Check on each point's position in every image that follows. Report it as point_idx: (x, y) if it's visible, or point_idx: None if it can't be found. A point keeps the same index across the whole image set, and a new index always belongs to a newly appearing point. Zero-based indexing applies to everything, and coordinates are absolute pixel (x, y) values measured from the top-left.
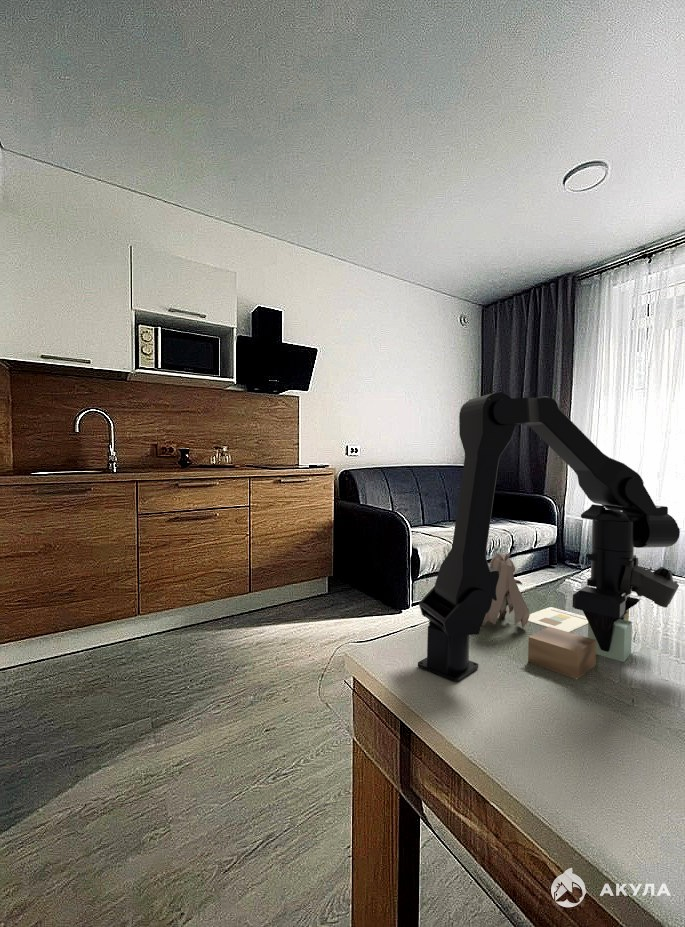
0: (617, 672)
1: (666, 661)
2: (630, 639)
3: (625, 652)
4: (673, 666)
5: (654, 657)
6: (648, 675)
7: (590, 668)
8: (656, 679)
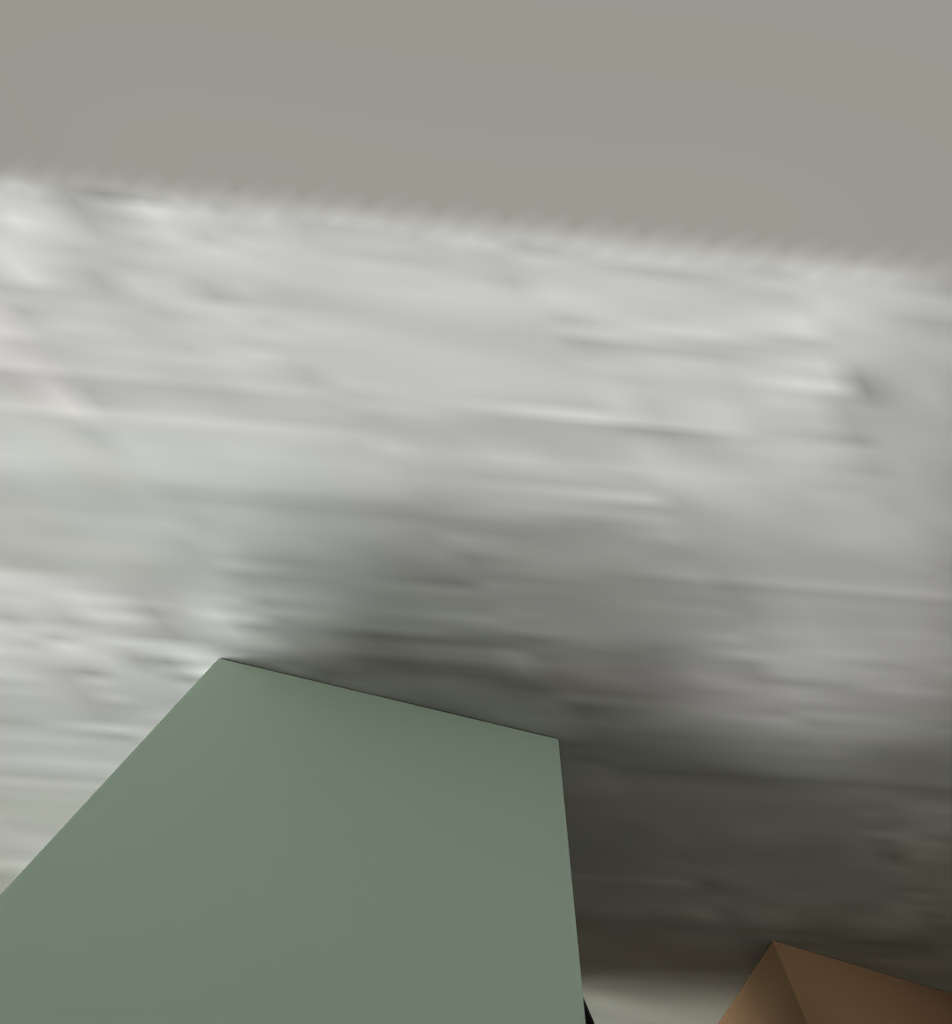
0: (868, 803)
1: (209, 324)
2: (169, 795)
3: (484, 787)
4: (332, 257)
5: (172, 444)
6: (806, 554)
7: (901, 985)
8: (891, 487)
